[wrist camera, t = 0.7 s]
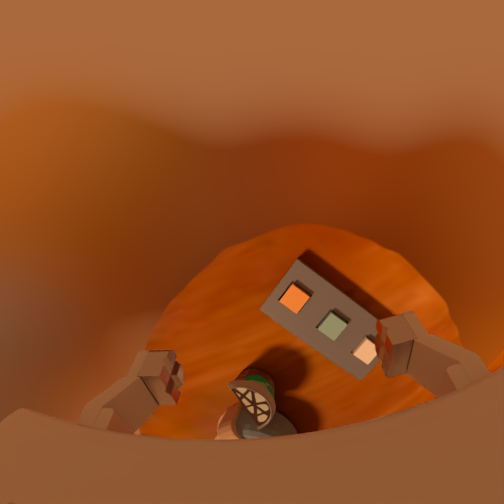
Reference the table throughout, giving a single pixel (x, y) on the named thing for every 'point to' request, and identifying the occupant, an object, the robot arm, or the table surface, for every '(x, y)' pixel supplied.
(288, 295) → the orange button
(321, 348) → the button board
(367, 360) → the cream button
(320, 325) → the olive green button
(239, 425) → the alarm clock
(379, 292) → the table surface
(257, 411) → the food container
